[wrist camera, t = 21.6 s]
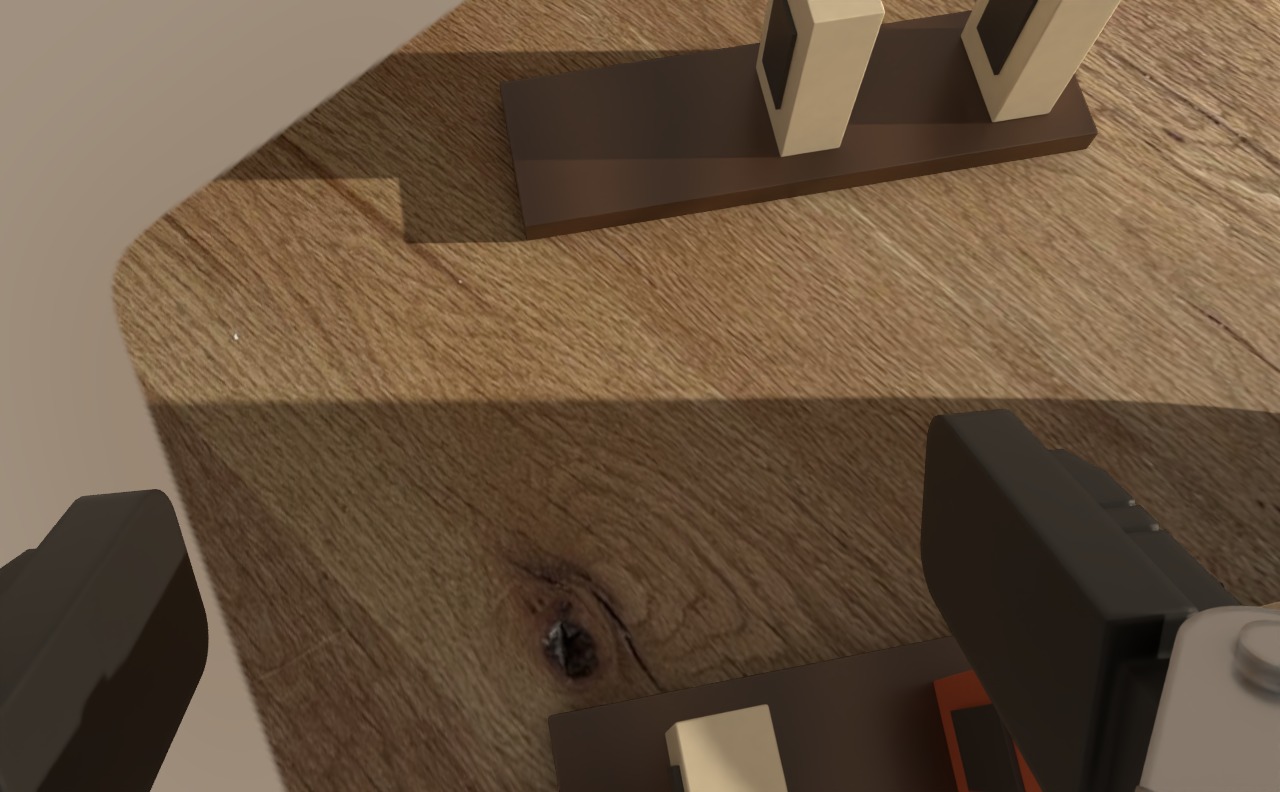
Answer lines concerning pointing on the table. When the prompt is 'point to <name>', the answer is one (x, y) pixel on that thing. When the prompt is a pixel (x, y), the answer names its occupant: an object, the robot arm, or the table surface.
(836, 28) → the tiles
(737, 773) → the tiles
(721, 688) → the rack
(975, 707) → the tall orange-red rectangular prism
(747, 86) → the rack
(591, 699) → the table surface
